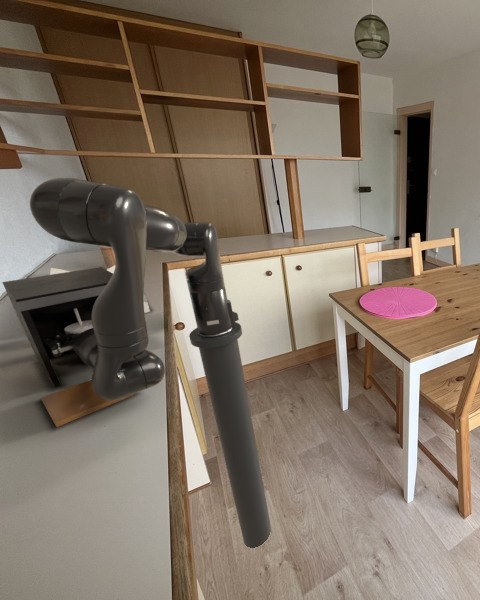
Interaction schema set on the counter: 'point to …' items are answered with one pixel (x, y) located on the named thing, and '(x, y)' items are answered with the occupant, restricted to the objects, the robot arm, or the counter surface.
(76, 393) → the board
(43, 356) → the shelf
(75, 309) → the smoothie
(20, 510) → the counter surface
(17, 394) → the counter surface
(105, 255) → the fruit juice
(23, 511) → the counter surface
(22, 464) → the counter surface
